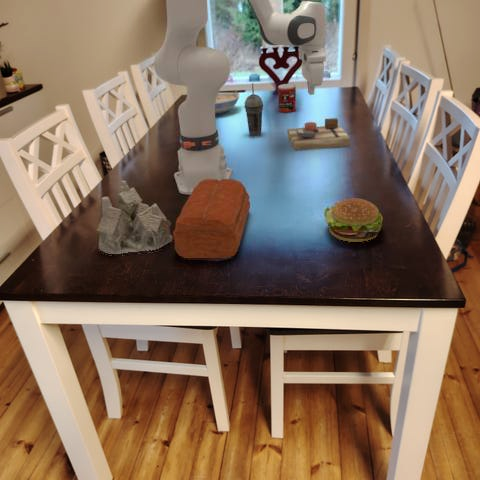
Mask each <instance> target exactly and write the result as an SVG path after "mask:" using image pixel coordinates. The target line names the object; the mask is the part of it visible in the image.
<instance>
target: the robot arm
mask: <svg viewBox="0 0 480 480" xmlns="http://www.w3.org/2000/svg"><path fill="white" fill-rule="evenodd" d="M165 1H166V2H165V4H166V15H167V16H166V19H167V20H166V21H167V23H166V32H165V36H164V37H165V38H164V40H163V44H162V45H161V47H160V49H159V50H158V51H157V52H156V54H155V57H154V61H153V67H154V70H155V74H156V76H157V77H158V78H159V79H160V80H161V81H162V80H163V81H164V82H166V83H169V84H171V85H175V86H176V85H177V86H181V87H182V86H185V87H186V93H187V94H186V98H185V100H184V101H182V103H181V104H180V105H179V106H178V110H177V115H178V121H179V128H180V129H179V132H180V133H179V142H180V148H179V149H178V150H177V156H178V157H177V158H178V166H177V169H178V171H177V172H175V173H174V175H173V176H174V177H173V178H174V179H175V182H176V186H177V189H178V192H179V193H180V194H183V195H191V193H192V191H193V189H194V188H195V187H196V186H197V185H198V184H199V183H200V182H201V181H203V180H205V179H217V180H219V181H220V180H222V179H231V176H232V173H233V169H232V168H231V167H227V162H226V154H225V148H224V147H223V146H222V145H221V144H220V141H219V139H220V138H219V136H220V135H219V133H218V132H219V131H218V129H217V125H216V123H217V122H216V114H215V102H216V97H217V94H218V92H219V90H221V88H222V87H223V86H225V84H226V83H227V82H228V81H229V77H230V74H231V63H230V59H229V57H228V55H227V54H226V53H225V52H224V51H221V50H219V49H215V48H213V47H207V46H197V40H198V37H199V33H200V31H201V30H202V29H204V27H206V25H207V23H208V20H209V19H208V16H209V14H208V0H165ZM247 2H248V4H249V6H250V8H251V11H252V12H253V14H254V17H255V18H256V21H257V24H258V28H259V32H260V36H261V38H262V40H263V41H264V42H265V43H266V44H267V45H270V46H286V47H288V46H289V47H298V59H299V60H301V76H302V77H303V78H304V79H305V80H306V83H307V85H306V86H307V93H308V94H309V95H310V96H311V95H315V89H316V87H319V86H322V84H323V79H324V69H325V62H326V60H327V56H326V40H325V39H326V38H325V32H326V28H327V27H326V24H327V23H326V17H327V16H326V8H325V4H324V2H322V1H321V0H320V1H319V0H302V1H301V2H300V5H299V6H298V8H296V9H295V10H294V11H292V12H291V13H281V12H278V11H277V10H275V9H274V8H273V5H272V4H271V2H270V0H247Z"/></svg>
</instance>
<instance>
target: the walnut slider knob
mask: <svg viewBox="0 0 480 480" xmlns="http://www.w3.org/2000/svg"><path fill="white" fill-rule="evenodd" d="M338 125H339V119H338V118H337V117H334V118H324V126H325V128H338Z"/></svg>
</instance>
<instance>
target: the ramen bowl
mask: <svg viewBox="0 0 480 480" xmlns="http://www.w3.org/2000/svg"><path fill="white" fill-rule="evenodd" d="M245 92H246V89H239V90H238V89H237V90H235V89H233V90H223V89H222V90H221V89H220V90H219V92H218V94H217V97H216V102H215V115H221V114H224V113H225V112H227V111H229V110H230V109H232V108H233V107H234V106H235V105H236V104H237V103H238V100H239V98H240V95H241V93H245Z"/></svg>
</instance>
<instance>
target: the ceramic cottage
mask: <svg viewBox="0 0 480 480" xmlns="http://www.w3.org/2000/svg"><path fill="white" fill-rule="evenodd" d="M120 183H121V185H120V186H119V191H120V193H118V197H117V200H116V206H117V207H113V205H112V202H111V200H110V198H109V196H103V197H102V198H101V213H102V216H101V218H100V221H99V224H98V228H97V229H96V231H98V232H99V235H98V237H99V240H98V250H99V249H100V250H101V251H103V252H105V253H108V254H121V253H122V254H123V253H128V252H139V251H145V250H146V251H149V250H151V251H152V250H156V249H159V248H161V247H163V246H164V245H166V244H168V243H169V242H171V241H172V239H173V240H174V236H173V234H171V226H172V222H171V221H170V220H168V219H167V217H166V216H165V214H164V213H163V211H162V210H161V209H160V207H159V206H158V204H157V203H153V204H152V205H151V206H149V204H146V203H143V199H142V198H141V196H140V195H139V194H138V192H137V191H136V189H135V187H131V188H130V187H129V185H128V183H127V181H126V180H121V182H120ZM172 242H173V241H172ZM172 242H171V243H172ZM166 246H167V245H166ZM100 250H99V251H100Z"/></svg>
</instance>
